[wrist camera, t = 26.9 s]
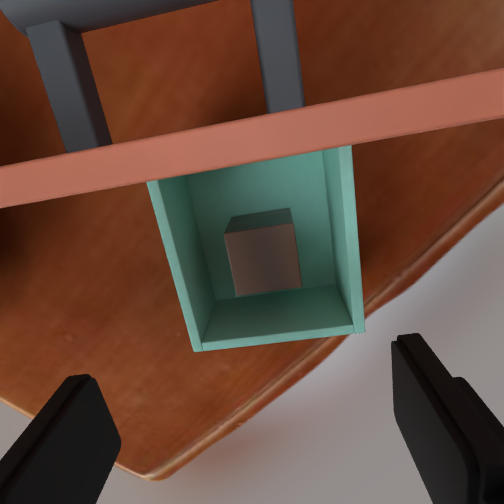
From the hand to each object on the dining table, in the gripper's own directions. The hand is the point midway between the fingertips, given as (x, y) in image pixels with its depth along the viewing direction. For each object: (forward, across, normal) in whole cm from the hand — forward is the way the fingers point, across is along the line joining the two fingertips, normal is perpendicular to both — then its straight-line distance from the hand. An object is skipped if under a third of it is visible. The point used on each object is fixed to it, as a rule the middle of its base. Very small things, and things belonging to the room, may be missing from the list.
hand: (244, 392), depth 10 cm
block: (+16, 0, 0) cm, 16 cm away
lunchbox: (+17, -1, 0) cm, 17 cm away
